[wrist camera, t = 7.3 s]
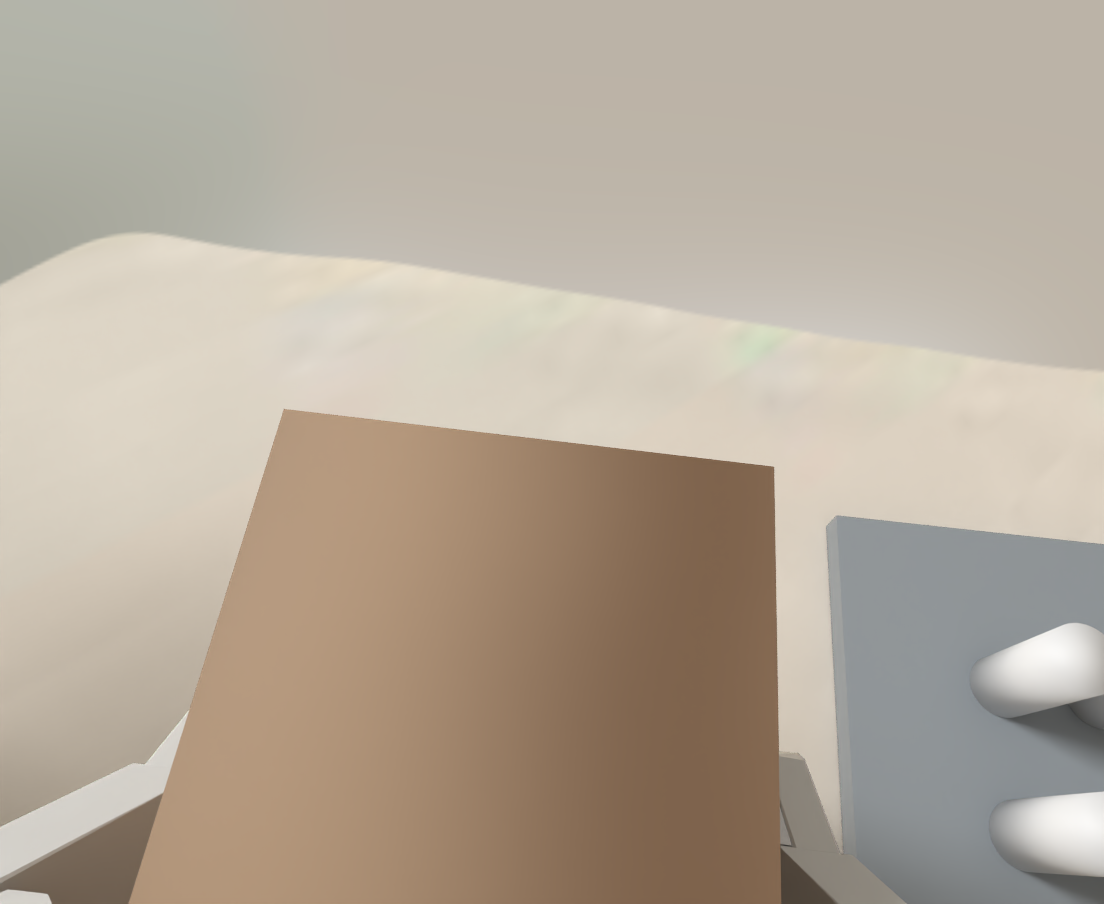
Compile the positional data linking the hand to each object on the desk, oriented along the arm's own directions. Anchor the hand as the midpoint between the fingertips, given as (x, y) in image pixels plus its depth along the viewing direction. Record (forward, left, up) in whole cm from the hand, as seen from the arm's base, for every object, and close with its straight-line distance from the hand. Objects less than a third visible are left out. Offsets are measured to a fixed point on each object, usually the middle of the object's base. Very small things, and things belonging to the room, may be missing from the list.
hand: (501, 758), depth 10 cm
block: (0, -1, -5) cm, 5 cm away
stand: (+15, +5, -14) cm, 21 cm away
